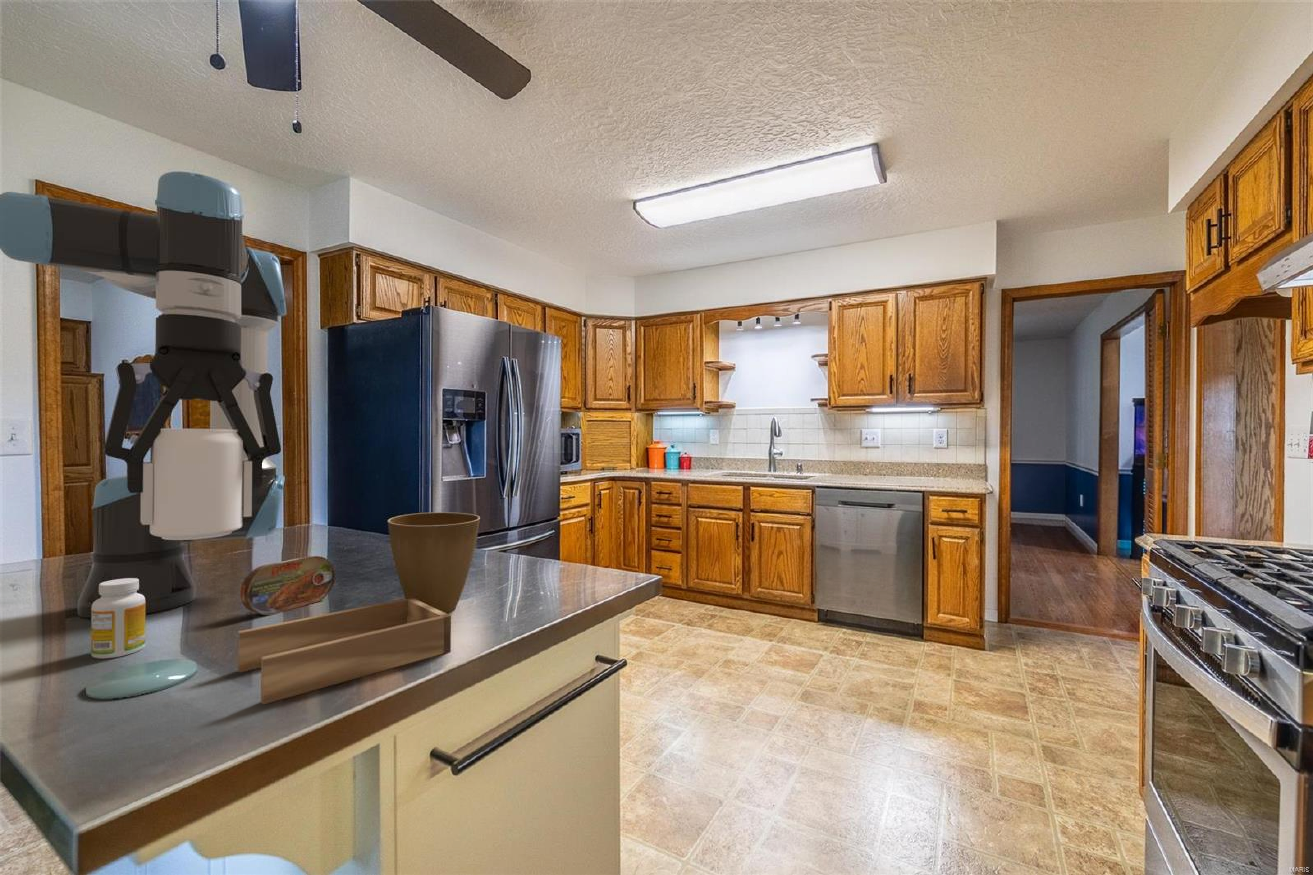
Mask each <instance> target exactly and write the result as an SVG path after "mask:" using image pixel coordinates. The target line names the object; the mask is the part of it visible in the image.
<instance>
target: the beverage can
mask: <svg viewBox="0 0 1313 875" xmlns="http://www.w3.org/2000/svg"><path fill="white" fill-rule="evenodd" d="M237 432H238V430H234V429H210V428H162V429H161V431H160V432H159V434H158V436H157V437H156V439H155V441H154V442H153V444H152V446H151V447H150V460H149V462H150V463H153V524H150V533H151V534H152V535H154V536H159V537H162V539H166V540H193V539H204V538H213V537H219V536H224V535H228V534H231V533H232V531H235V530H237V529H239V528H241V527H242V494H243V441H242V439H241V437H240V436H239V435H238V433H237Z"/></svg>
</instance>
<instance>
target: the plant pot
mask: <svg viewBox="0 0 1313 875" xmlns="http://www.w3.org/2000/svg"><path fill="white" fill-rule="evenodd" d="M480 520H481V517H480V515H477V514H471V513H466V512H465V513H463V512H443V511H442V512H441V511H439V512H420V513H419V512H418V513H410V514H403V515H397V516H394V517H391V518H389V519H387V526H388V527H387V528H388V534H389V541H390V547H391V553H392V558H393V561H394V566H395V570H396V573H397V574H396V575H397V578H398V580H399V584H400V587H401V590H402V593H403V595H404V598H409V597H412V598H414V599H416V600H418V601H420V602H423V603H425V604H427V605H429V606H431V607H433V608H435V609H438V610H440V611H442V612H444V613H446V614H448V613H450V612H453V611H455V609H456V608H457V607H458V603H459V601H460V598H461V596H462V593H463V591H464V588H465V586H466V585H465V584H466V582H467V579H468V576H469V572H470V568H471V565H472V562H473V558H474V553H475V550H476V544H477V539H478V535H479V534H478V533H479V528H480V522H481V521H480Z"/></svg>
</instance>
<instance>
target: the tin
mask: <svg viewBox="0 0 1313 875" xmlns="http://www.w3.org/2000/svg"><path fill="white" fill-rule="evenodd" d="M335 580H336V572H335V568H334V565H333V564H332V563H331V561H330V560H329V559H328V558H326V557H324V556H321V555H320V556H318V555H313V556H302V557H298V558H297V557H296V558H293V559H287V560H284V561H279V562H273V563H268V564H264V565H263V564H262V565H260V566H257V567H256V568H254V569H253V570H252V571H250V573H248V574H247V576H246V577H245V578H244V579H243V582H242V583H241V589H240V598H241V603H242V605H243V606H244V608H246V609H247V610H249V612H251V613H254V614H257V615H262V616H271V615H270V614H273V615H277V614H280V612H281V613H284V612H287V610H288V611H291V610H294V609H298V607H299V608H301V607H305V605H306V606H309V604H310V605H313V604H315V603H319V602H321V601H322V600H324V599H325V598H326V597H327V596H328V595H329V594H330V592H331V591H332V589H333V587H334V584H335ZM290 609H291V610H290Z"/></svg>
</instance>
